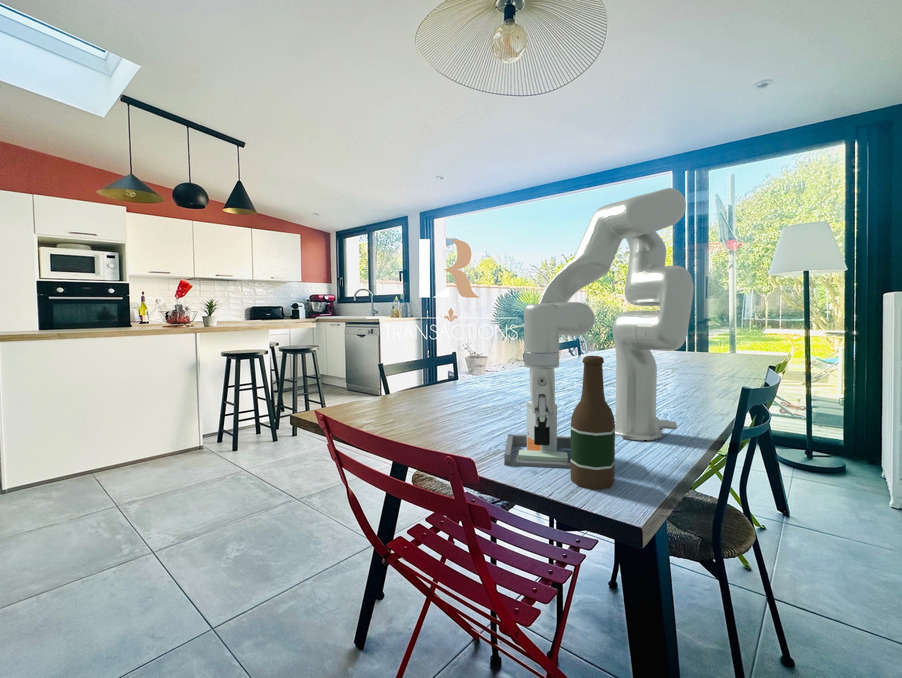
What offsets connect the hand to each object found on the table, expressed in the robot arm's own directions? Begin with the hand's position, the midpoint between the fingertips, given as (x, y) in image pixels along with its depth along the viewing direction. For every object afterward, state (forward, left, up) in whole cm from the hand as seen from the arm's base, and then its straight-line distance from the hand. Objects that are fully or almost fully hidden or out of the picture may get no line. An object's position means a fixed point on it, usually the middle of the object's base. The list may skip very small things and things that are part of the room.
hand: (541, 438), depth 97 cm
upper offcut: (0, +6, -3) cm, 6 cm away
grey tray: (0, +2, -4) cm, 4 cm away
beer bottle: (-9, +15, -4) cm, 18 cm away
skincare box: (0, 0, -4) cm, 4 cm away
